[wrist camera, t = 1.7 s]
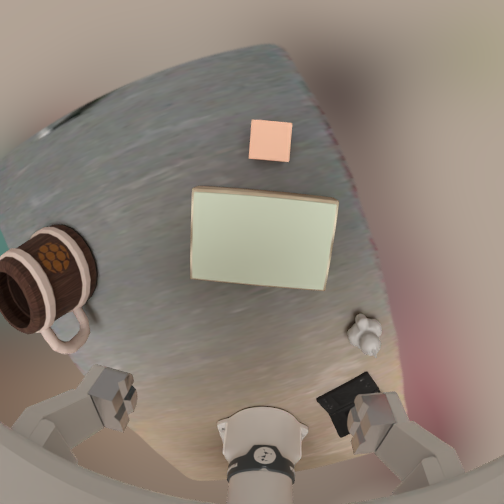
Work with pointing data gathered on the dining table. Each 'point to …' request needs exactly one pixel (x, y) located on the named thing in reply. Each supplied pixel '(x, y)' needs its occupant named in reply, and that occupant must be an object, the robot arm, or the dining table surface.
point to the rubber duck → (365, 335)
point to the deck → (261, 237)
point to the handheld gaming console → (346, 400)
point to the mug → (48, 284)
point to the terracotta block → (270, 140)
